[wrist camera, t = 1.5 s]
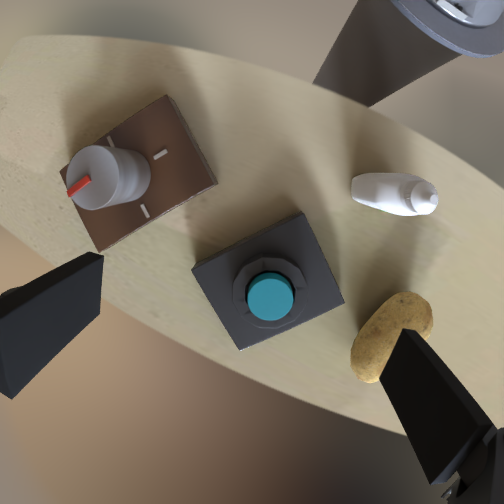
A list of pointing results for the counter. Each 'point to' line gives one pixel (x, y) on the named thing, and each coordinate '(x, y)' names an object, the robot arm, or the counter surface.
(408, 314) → the potato
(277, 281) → the teal round puck
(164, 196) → the dial panel
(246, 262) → the push button box
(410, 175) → the eye dropper bottle
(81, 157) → the dial
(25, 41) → the counter surface
